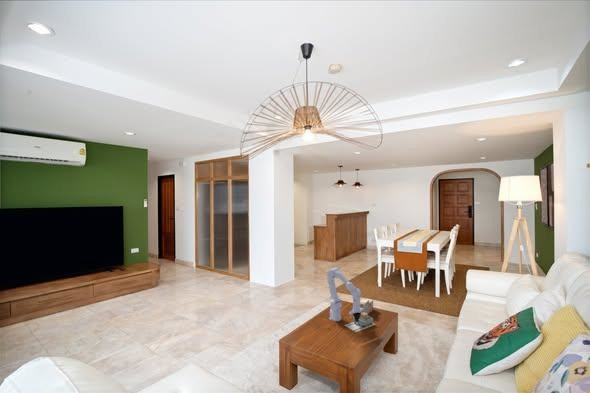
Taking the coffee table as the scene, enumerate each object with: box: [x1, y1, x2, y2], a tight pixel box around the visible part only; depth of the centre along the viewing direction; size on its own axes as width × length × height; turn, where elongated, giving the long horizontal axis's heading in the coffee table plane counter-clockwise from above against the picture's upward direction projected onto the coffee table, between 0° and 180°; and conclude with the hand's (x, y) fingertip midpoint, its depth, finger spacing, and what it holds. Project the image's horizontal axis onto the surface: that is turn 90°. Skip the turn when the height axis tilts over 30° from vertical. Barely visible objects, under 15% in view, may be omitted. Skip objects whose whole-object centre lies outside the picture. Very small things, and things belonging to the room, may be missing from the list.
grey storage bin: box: [352, 315, 374, 327], centre depth 232 cm, size 11×12×5 cm
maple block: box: [360, 312, 369, 321], centre depth 232 cm, size 4×4×5 cm
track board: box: [344, 321, 376, 333], centre depth 230 cm, size 13×22×1 cm, turn 122°
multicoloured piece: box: [360, 298, 374, 315], centre depth 255 cm, size 21×6×12 cm, turn 143°
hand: (356, 321), depth 228 cm, fingers closed
